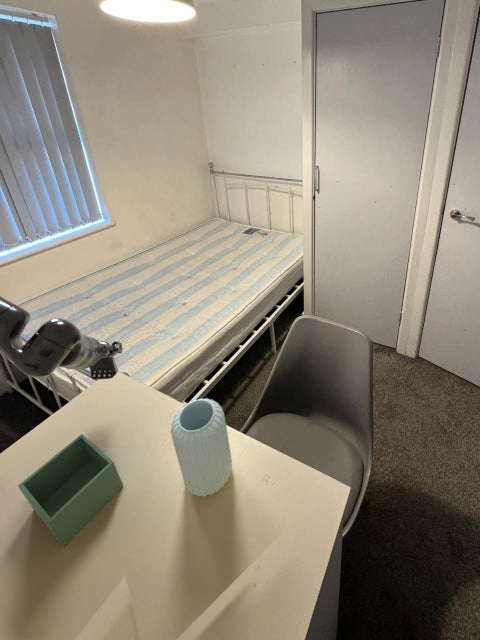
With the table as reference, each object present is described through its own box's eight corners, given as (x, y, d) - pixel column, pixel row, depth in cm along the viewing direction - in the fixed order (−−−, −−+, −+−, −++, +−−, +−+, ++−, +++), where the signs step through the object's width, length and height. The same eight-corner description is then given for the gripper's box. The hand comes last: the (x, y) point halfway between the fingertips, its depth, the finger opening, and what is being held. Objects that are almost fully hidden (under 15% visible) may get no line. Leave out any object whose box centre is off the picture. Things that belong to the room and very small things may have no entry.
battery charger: (87, 382, 90) (75, 351, 85) (95, 371, 93) (84, 341, 89) (113, 381, 90) (102, 350, 85) (119, 370, 94) (109, 340, 89)
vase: (178, 472, 80) (161, 412, 71) (219, 442, 87) (209, 384, 77) (197, 514, 72) (180, 452, 63) (241, 478, 79) (232, 417, 69)
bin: (33, 509, 73) (17, 485, 69) (92, 457, 84) (82, 433, 80) (63, 547, 67) (48, 523, 63) (123, 486, 77) (113, 462, 73)
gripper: (111, 328, 79) (125, 335, 94) (42, 344, 74) (68, 349, 89) (114, 359, 77) (128, 361, 92) (43, 378, 72) (70, 377, 87)
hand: (99, 355), depth 90 cm, fingers closed on battery charger, 7 cm apart
